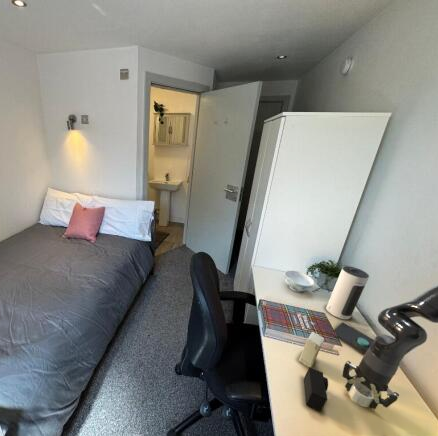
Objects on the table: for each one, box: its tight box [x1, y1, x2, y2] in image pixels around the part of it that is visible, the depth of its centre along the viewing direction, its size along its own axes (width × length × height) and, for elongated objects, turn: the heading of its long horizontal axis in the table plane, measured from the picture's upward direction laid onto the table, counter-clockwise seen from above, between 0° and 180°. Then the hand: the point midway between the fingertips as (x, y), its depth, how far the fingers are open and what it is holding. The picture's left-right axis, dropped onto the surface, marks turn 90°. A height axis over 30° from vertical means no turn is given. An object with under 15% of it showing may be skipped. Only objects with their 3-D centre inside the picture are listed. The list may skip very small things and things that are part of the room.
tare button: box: [357, 338, 369, 347], centre depth 100 cm, size 4×4×2 cm
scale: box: [333, 321, 375, 355], centre depth 105 cm, size 13×13×3 cm
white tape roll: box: [348, 382, 374, 408], centre depth 80 cm, size 6×6×5 cm
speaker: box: [325, 265, 370, 321], centre depth 117 cm, size 11×10×26 cm
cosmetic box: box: [298, 331, 325, 368], centre depth 92 cm, size 6×4×12 cm
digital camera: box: [303, 367, 329, 413], centre depth 80 cm, size 10×5×7 cm, turn 151°
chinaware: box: [284, 270, 315, 293], centre depth 138 cm, size 15×15×8 cm
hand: (359, 397), depth 81 cm, fingers closed on white tape roll, 6 cm apart
